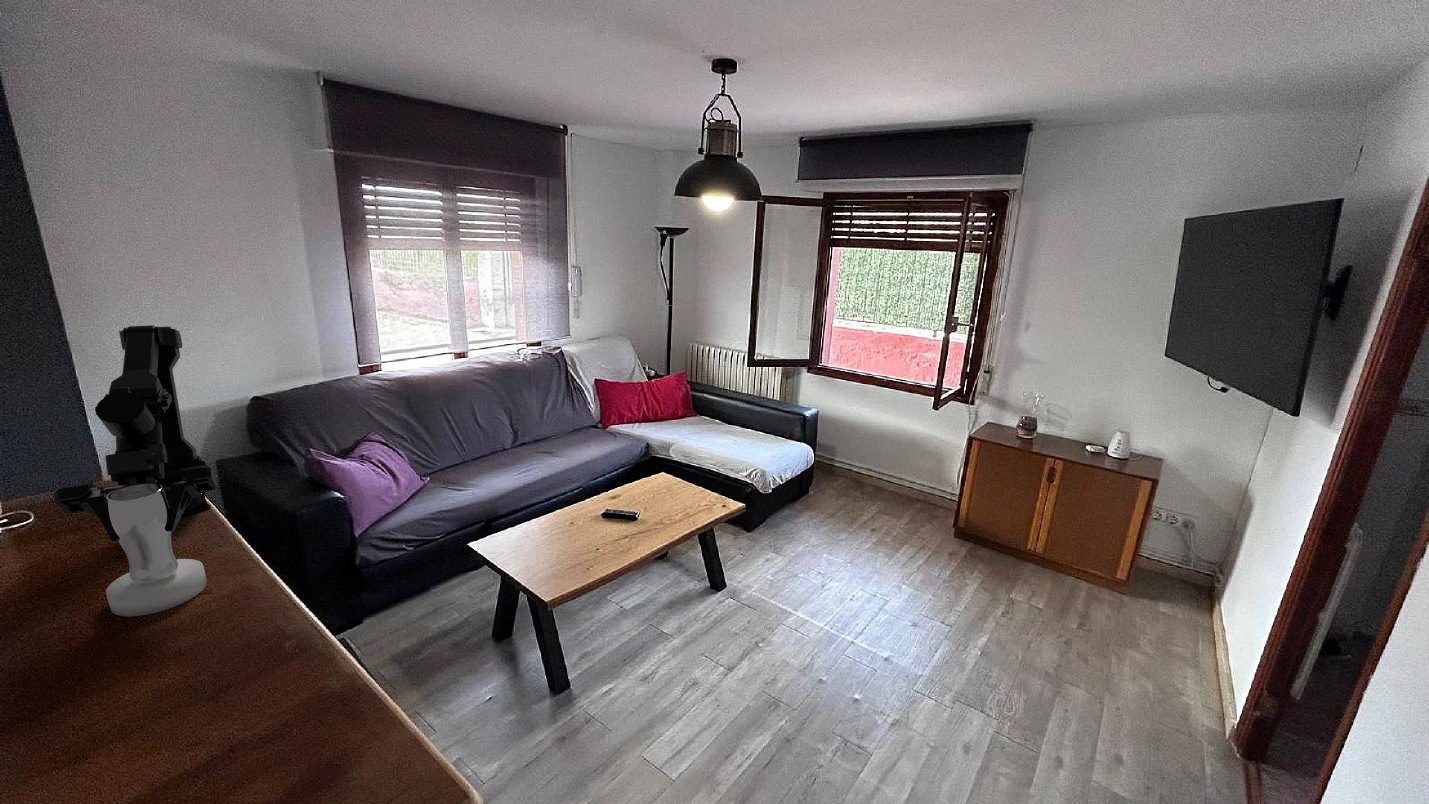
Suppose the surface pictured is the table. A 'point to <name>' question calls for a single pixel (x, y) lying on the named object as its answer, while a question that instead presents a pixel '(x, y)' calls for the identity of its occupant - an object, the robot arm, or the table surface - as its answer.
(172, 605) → the cream stand
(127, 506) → the beer glass
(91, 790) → the table surface
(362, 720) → the table surface
